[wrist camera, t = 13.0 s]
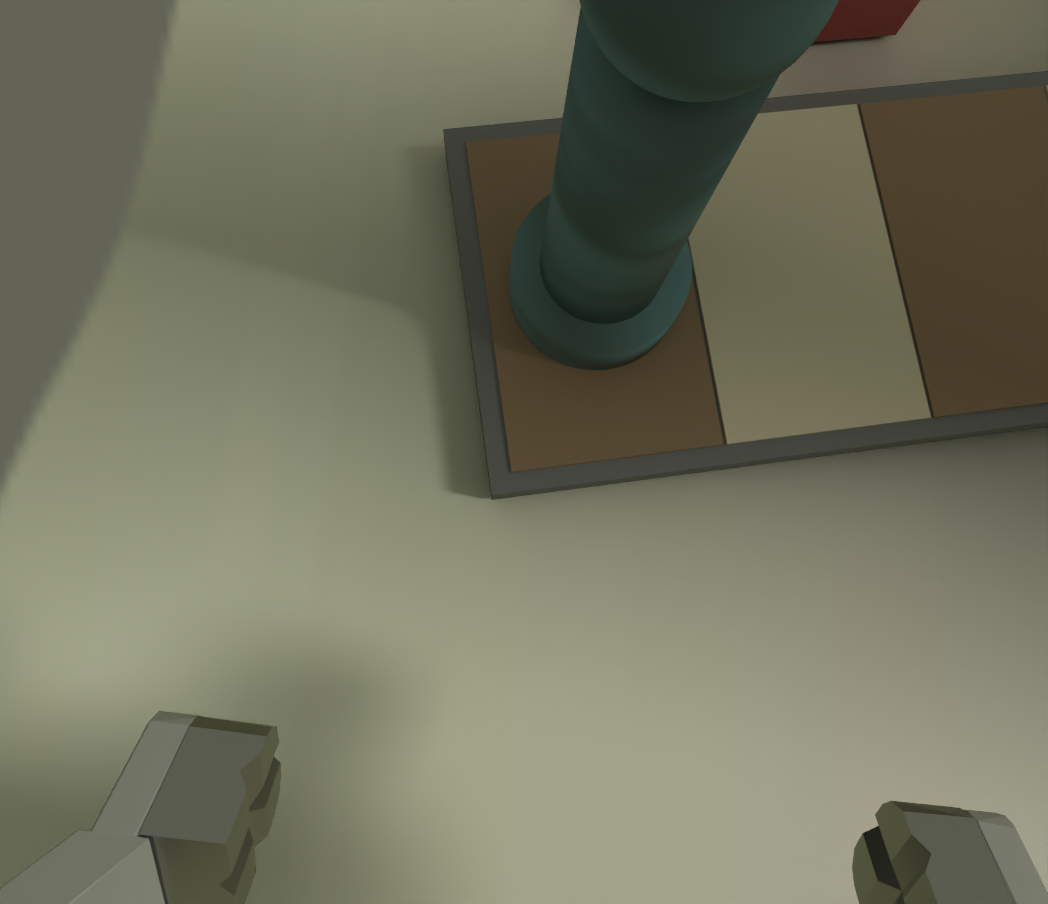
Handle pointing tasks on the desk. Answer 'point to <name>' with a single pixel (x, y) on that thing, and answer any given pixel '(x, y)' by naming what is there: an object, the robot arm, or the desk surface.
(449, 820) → the desk surface
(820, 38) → the die
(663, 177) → the pawn
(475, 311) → the board
